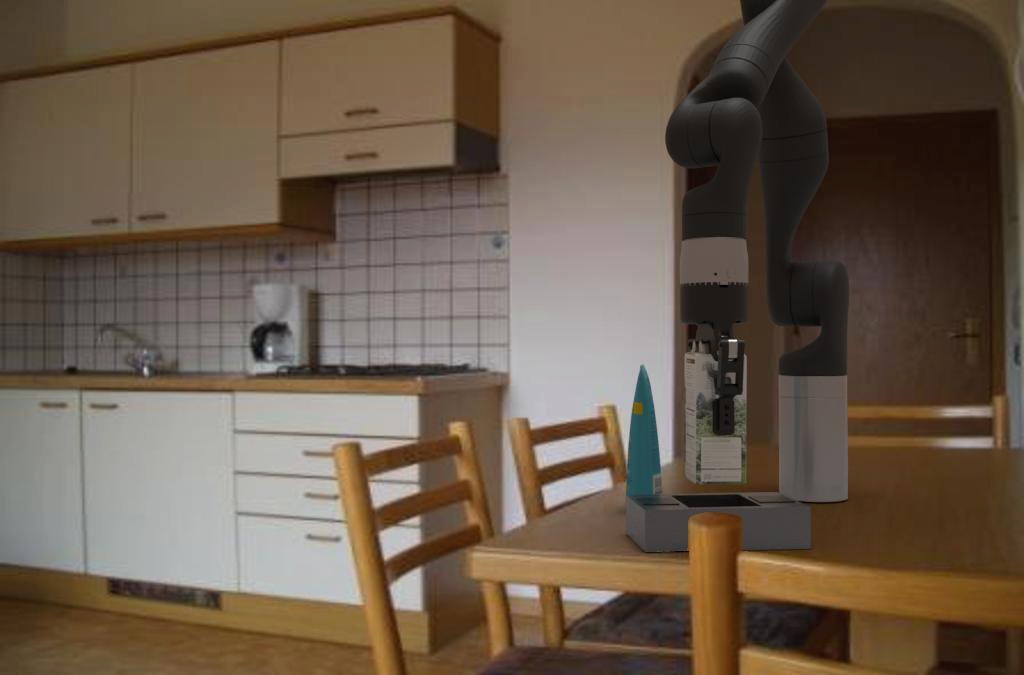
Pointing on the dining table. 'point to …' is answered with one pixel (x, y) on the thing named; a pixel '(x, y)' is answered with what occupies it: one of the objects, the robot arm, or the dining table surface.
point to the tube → (643, 442)
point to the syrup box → (711, 428)
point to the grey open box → (763, 513)
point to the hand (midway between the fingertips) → (714, 431)
